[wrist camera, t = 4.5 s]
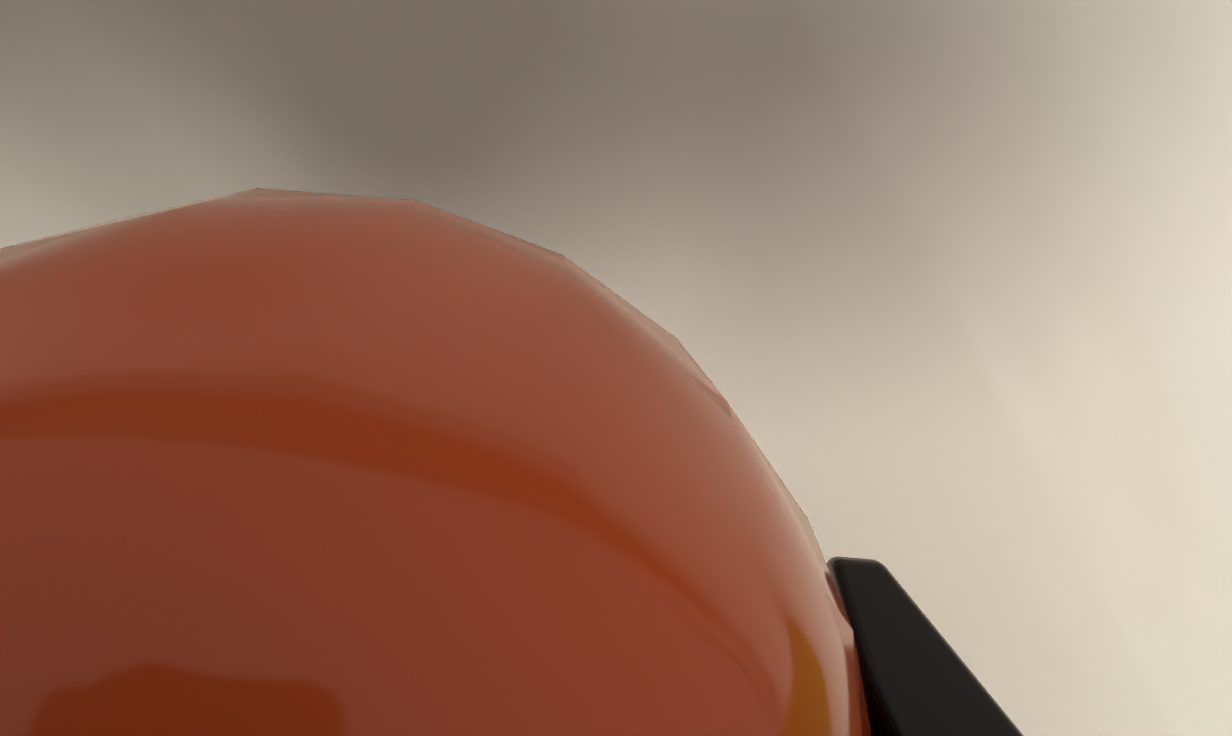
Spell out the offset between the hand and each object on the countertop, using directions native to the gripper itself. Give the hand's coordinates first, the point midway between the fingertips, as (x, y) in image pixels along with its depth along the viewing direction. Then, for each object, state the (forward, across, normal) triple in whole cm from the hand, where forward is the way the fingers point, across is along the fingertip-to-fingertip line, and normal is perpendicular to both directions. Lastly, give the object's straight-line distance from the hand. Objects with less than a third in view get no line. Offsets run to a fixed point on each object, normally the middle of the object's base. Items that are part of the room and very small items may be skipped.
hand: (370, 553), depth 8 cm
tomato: (+2, 0, 0) cm, 2 cm away
